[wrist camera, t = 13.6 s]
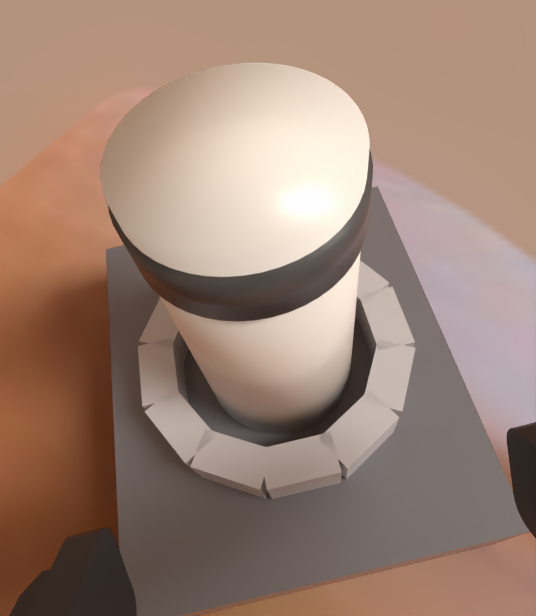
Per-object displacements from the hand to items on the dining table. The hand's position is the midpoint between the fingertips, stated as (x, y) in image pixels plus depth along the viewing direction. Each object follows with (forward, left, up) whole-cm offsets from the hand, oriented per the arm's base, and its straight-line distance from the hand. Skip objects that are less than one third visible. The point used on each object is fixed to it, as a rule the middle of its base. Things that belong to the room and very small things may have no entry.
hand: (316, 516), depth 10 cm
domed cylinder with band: (0, +6, -6) cm, 8 cm away
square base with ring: (0, +6, -10) cm, 11 cm away
